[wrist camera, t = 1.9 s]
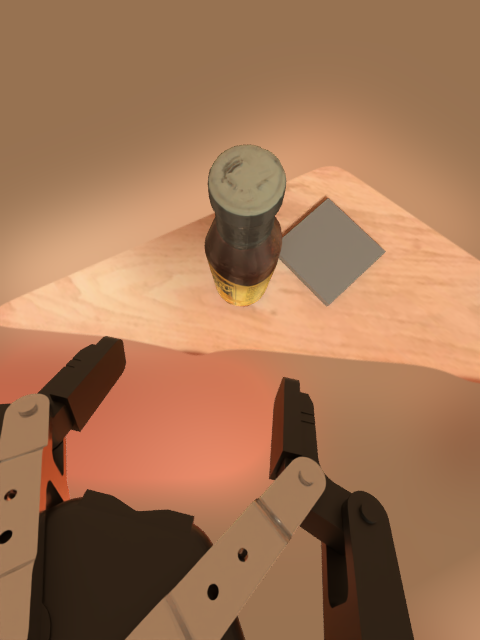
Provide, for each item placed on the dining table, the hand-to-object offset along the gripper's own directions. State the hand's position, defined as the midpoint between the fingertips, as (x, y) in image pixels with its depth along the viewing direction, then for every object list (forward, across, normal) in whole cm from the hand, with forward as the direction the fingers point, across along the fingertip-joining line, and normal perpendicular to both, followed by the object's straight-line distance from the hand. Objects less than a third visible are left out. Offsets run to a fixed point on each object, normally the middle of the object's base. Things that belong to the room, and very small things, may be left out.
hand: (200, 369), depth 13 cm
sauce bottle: (+20, 0, +6) cm, 21 cm away
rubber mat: (+25, -10, +1) cm, 27 cm away
